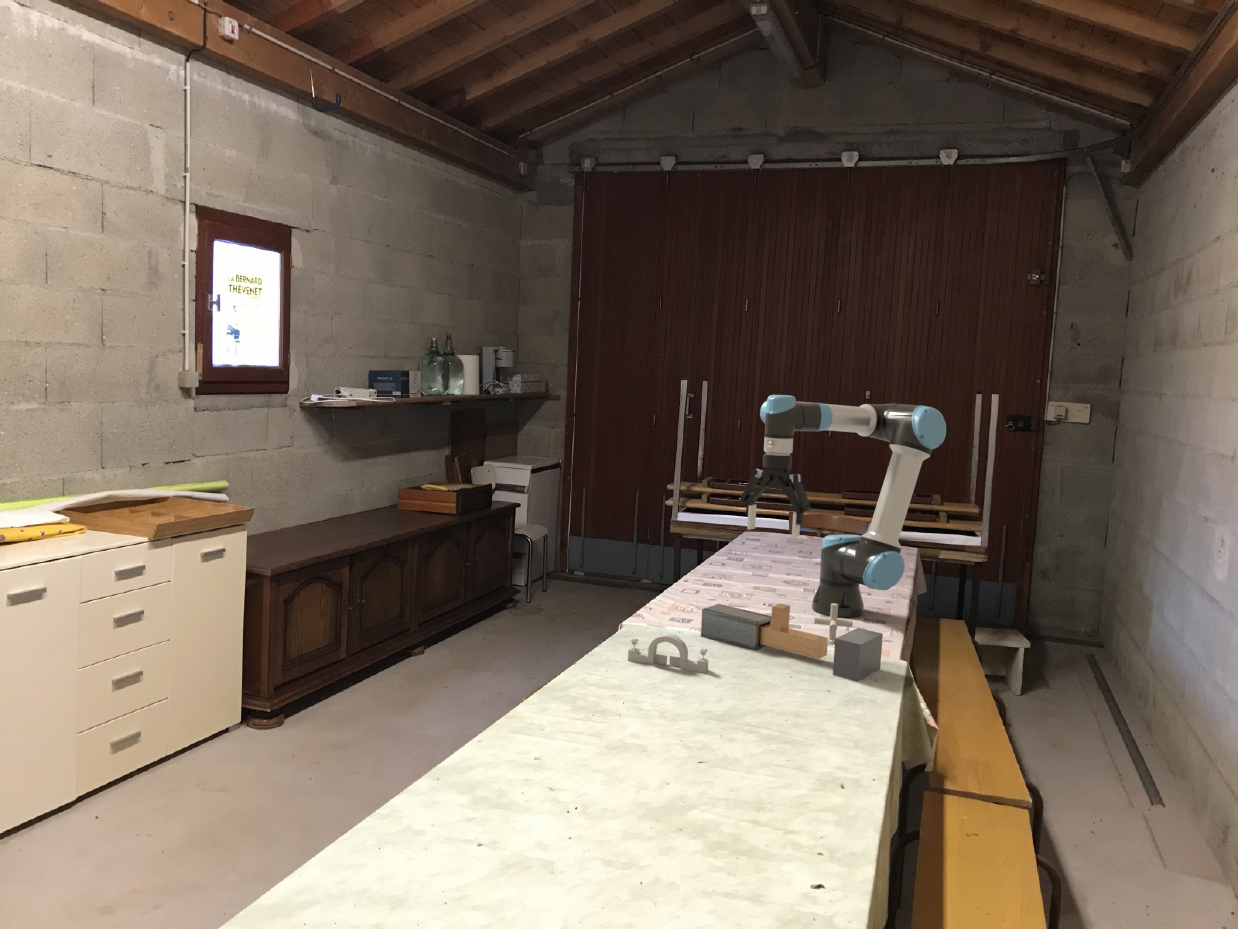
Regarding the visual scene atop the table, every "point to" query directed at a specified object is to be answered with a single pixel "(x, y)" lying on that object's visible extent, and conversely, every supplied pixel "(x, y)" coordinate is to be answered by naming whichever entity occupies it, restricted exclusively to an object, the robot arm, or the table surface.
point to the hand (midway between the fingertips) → (772, 532)
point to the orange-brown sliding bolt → (790, 635)
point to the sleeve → (733, 626)
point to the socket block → (857, 654)
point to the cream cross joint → (833, 622)
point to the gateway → (662, 659)
